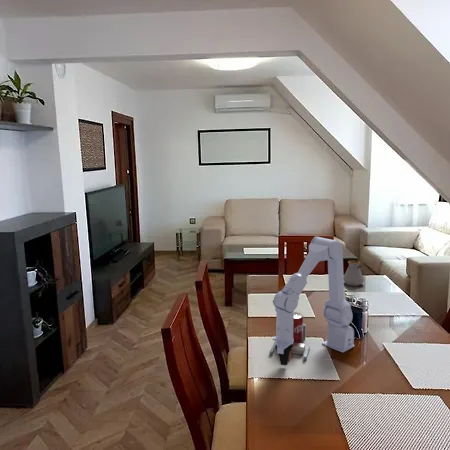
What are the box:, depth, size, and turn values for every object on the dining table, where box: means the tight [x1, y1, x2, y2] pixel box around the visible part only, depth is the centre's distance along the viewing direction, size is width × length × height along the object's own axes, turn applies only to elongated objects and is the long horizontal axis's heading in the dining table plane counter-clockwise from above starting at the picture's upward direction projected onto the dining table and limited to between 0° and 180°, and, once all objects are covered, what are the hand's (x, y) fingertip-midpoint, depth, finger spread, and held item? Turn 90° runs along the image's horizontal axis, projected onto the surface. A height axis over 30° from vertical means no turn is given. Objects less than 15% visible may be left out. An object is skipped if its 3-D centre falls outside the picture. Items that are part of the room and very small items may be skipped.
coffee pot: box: [343, 260, 365, 287], centre depth 225 cm, size 21×12×15 cm, turn 175°
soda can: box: [293, 311, 304, 344], centre depth 157 cm, size 7×7×12 cm
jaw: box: [288, 342, 306, 362], centre depth 150 cm, size 9×10×3 cm
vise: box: [269, 323, 311, 362], centre depth 156 cm, size 18×13×6 cm
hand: (284, 364), depth 141 cm, fingers closed
